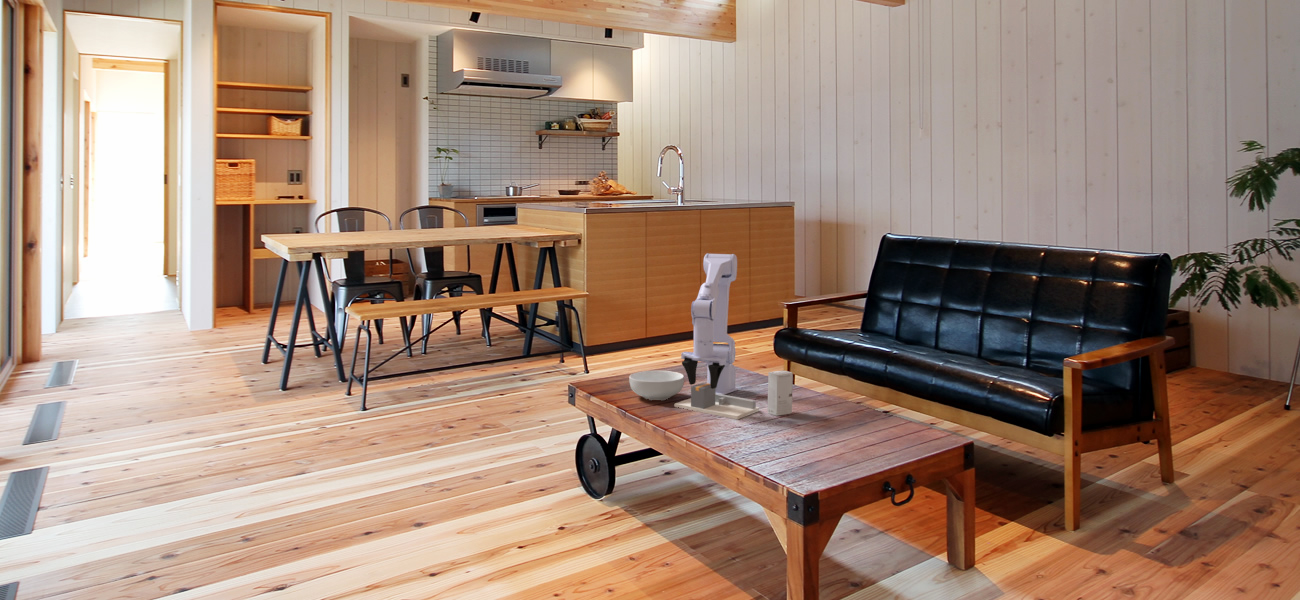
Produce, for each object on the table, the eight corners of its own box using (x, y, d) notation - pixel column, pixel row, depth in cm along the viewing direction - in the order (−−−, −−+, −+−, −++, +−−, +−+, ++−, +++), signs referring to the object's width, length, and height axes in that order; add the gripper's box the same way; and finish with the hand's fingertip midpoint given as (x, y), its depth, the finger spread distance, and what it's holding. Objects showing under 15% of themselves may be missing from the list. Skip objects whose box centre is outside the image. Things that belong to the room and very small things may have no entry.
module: (703, 402, 254) (703, 382, 253) (715, 404, 251) (715, 384, 251) (690, 406, 250) (691, 386, 249) (703, 409, 247) (703, 388, 246)
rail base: (697, 398, 262) (697, 388, 262) (759, 410, 249) (759, 400, 248) (674, 406, 253) (674, 396, 253) (737, 419, 239) (737, 408, 239)
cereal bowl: (685, 391, 271) (685, 370, 270) (682, 405, 255) (682, 382, 254) (632, 390, 273) (632, 368, 272) (626, 403, 257) (626, 381, 256)
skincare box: (777, 416, 243) (777, 375, 241) (766, 412, 246) (767, 372, 245) (793, 413, 246) (794, 372, 244) (782, 409, 250) (783, 369, 248)
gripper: (675, 339, 249) (675, 384, 251) (716, 345, 240) (715, 392, 242) (689, 336, 255) (689, 380, 256) (730, 341, 246) (729, 387, 248)
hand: (703, 385), depth 250 cm, fingers open, 7 cm apart
